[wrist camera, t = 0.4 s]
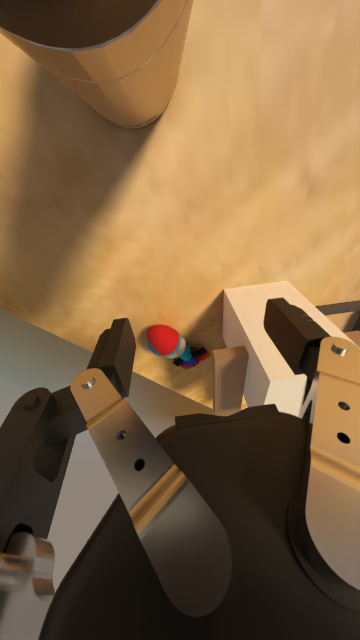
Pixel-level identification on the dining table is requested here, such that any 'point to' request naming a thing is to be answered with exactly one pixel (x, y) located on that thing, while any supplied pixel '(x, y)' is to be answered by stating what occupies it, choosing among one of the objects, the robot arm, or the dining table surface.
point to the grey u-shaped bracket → (341, 310)
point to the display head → (259, 351)
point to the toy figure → (174, 346)
